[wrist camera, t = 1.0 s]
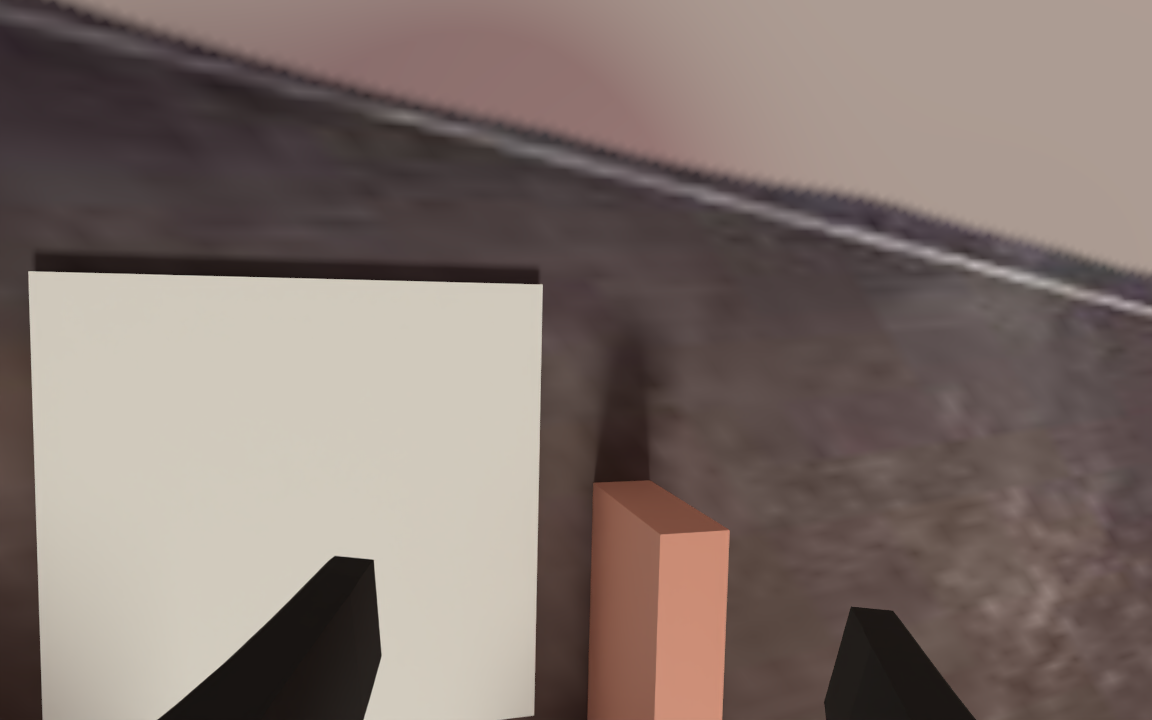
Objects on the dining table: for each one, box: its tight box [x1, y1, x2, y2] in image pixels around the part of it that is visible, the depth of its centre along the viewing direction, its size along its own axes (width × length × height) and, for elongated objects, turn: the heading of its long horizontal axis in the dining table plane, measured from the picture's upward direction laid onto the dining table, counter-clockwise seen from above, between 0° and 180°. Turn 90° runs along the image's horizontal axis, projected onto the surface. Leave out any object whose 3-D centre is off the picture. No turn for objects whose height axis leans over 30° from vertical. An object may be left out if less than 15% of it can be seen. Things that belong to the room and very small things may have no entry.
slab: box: [587, 480, 730, 720], centre depth 25 cm, size 9×2×6 cm, turn 178°
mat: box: [28, 271, 543, 720], centre depth 24 cm, size 14×14×1 cm
